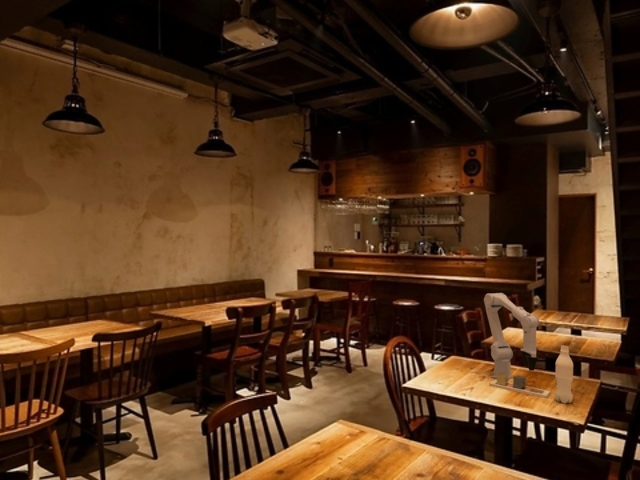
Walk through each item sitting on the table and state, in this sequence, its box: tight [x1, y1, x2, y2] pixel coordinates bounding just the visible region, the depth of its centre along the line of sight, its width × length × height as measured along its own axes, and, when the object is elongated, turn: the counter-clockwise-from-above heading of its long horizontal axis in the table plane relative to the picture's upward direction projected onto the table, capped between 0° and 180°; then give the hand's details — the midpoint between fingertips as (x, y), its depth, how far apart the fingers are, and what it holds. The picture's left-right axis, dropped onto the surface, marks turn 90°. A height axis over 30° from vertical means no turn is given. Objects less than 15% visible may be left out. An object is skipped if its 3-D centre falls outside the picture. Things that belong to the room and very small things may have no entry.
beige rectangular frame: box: [488, 379, 552, 399], centre depth 222 cm, size 8×26×1 cm, turn 50°
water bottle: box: [554, 345, 574, 404], centre depth 206 cm, size 7×7×25 cm
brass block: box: [496, 373, 509, 386], centre depth 227 cm, size 4×4×6 cm
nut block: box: [512, 374, 527, 390], centre depth 222 cm, size 4×4×6 cm
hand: (529, 368), depth 223 cm, fingers open, 7 cm apart
